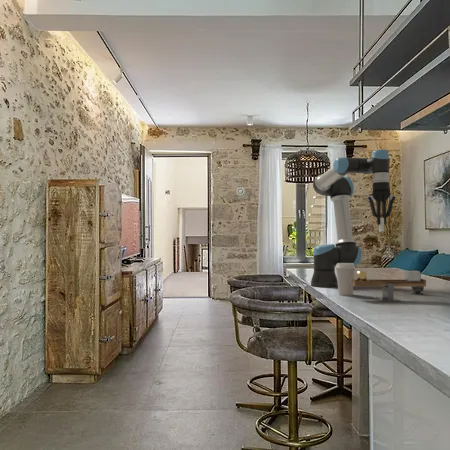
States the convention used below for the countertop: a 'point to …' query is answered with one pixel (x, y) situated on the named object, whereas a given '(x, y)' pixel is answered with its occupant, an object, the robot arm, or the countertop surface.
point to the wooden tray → (385, 282)
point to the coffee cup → (345, 278)
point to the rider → (412, 276)
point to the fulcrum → (388, 294)
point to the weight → (361, 275)
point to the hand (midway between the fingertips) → (381, 231)
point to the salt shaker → (417, 289)
